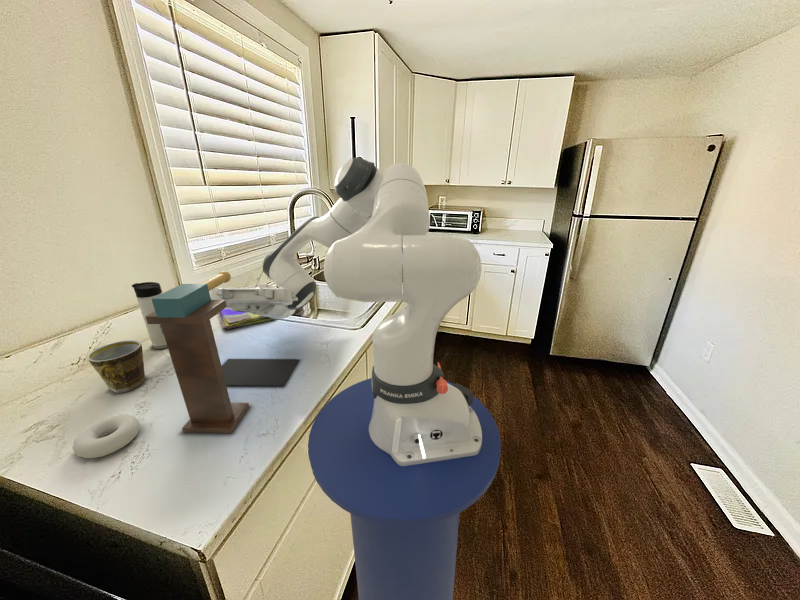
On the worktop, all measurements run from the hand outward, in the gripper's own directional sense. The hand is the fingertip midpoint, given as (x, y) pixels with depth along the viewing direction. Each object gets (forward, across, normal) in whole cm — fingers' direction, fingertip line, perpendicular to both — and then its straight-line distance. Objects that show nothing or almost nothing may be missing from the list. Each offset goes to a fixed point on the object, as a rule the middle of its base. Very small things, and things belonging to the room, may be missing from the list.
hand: (238, 291), depth 78 cm
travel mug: (-24, +35, -12) cm, 44 cm away
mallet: (+13, 0, -4) cm, 13 cm away
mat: (-11, 0, -20) cm, 23 cm away
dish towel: (-44, +20, -1) cm, 48 cm away
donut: (+10, +18, -32) cm, 38 cm away
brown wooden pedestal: (+4, 0, -29) cm, 29 cm away
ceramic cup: (-5, +29, -24) cm, 38 cm away
